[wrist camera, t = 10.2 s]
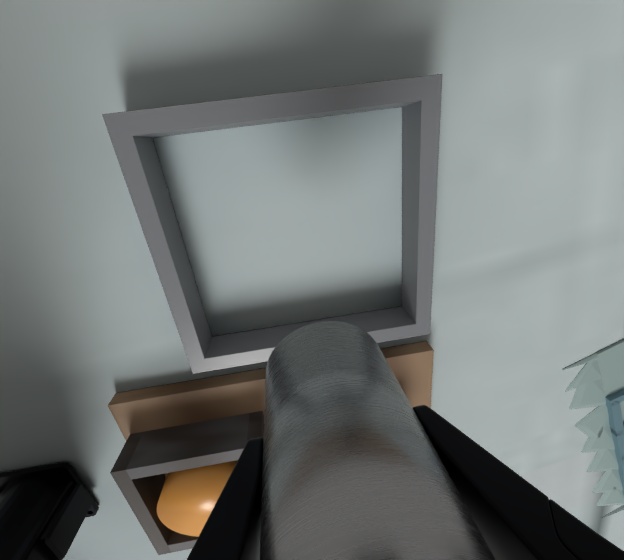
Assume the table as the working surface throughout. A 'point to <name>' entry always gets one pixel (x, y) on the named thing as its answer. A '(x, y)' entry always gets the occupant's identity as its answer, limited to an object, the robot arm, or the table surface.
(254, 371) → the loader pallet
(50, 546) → the robot arm
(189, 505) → the button
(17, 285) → the table surface
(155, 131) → the gray square frame
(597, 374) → the calendar
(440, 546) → the cylinder
